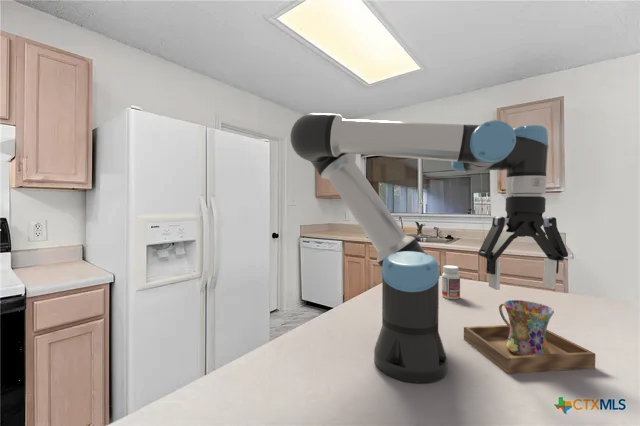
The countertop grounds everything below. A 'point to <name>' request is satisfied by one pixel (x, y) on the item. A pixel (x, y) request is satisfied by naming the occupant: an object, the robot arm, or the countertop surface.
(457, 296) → the pill bottle
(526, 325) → the mug
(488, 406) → the countertop surface
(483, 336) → the tray
